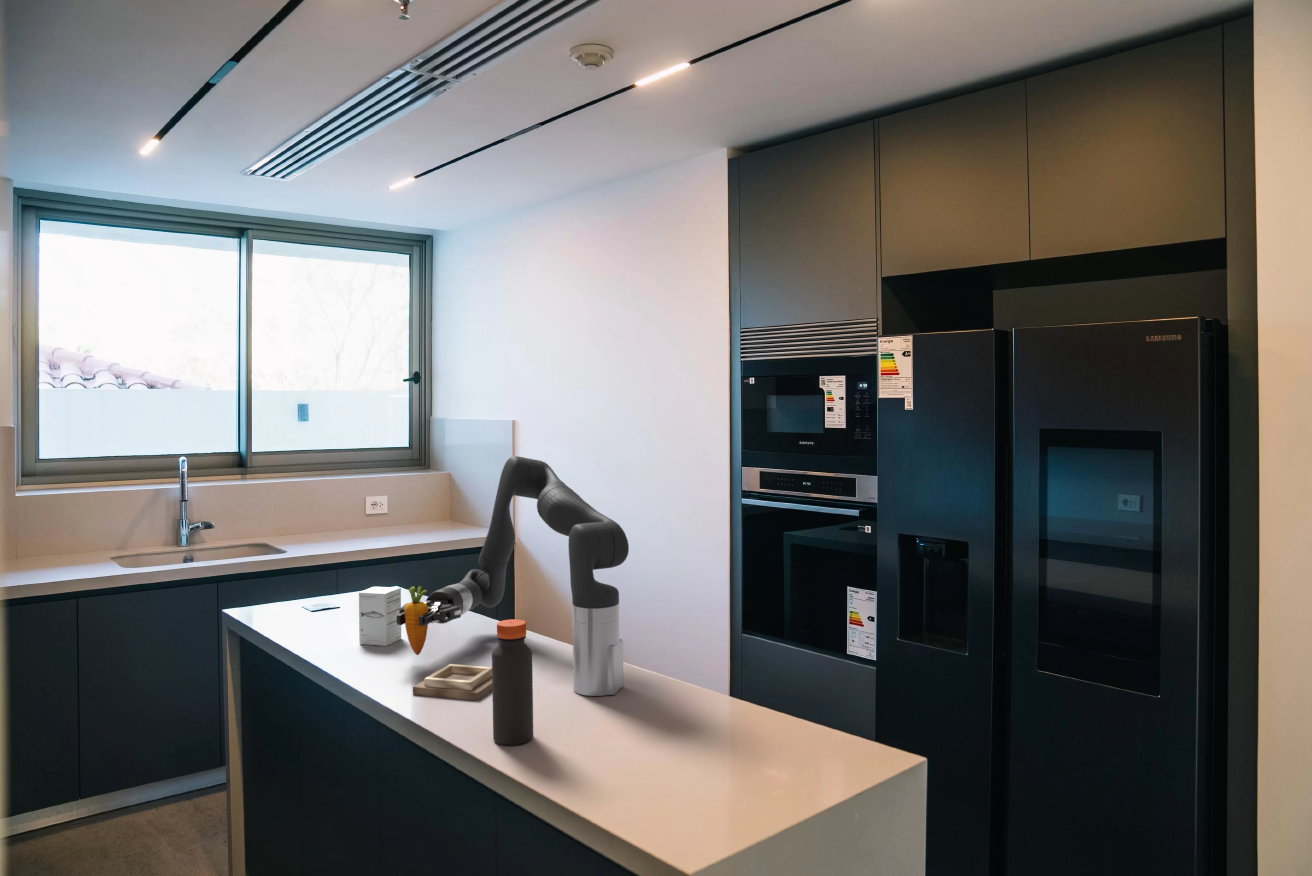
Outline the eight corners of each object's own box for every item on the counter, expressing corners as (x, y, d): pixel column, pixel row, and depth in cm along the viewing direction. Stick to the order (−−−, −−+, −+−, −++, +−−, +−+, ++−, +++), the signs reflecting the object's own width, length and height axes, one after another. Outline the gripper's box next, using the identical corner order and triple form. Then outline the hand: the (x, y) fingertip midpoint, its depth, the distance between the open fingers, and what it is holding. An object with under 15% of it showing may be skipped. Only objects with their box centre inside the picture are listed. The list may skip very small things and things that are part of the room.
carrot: (420, 650, 196) (417, 582, 195) (434, 654, 193) (432, 584, 192) (400, 655, 192) (398, 586, 191) (414, 659, 189) (412, 588, 188)
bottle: (528, 729, 157) (526, 616, 156) (537, 742, 151) (535, 625, 150) (489, 734, 155) (487, 620, 154) (497, 749, 148) (495, 629, 148)
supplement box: (358, 645, 212) (357, 592, 211) (375, 636, 219) (374, 585, 219) (386, 646, 210) (385, 593, 210) (402, 638, 217) (401, 586, 217)
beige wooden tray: (504, 681, 184) (504, 666, 184) (477, 700, 172) (477, 684, 172) (443, 675, 188) (443, 661, 188) (412, 694, 176) (412, 679, 176)
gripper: (421, 585, 208) (379, 601, 191) (477, 587, 204) (439, 604, 187) (422, 617, 208) (380, 636, 192) (478, 620, 204) (440, 640, 188)
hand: (409, 620), depth 190 cm, fingers closed on carrot, 4 cm apart
